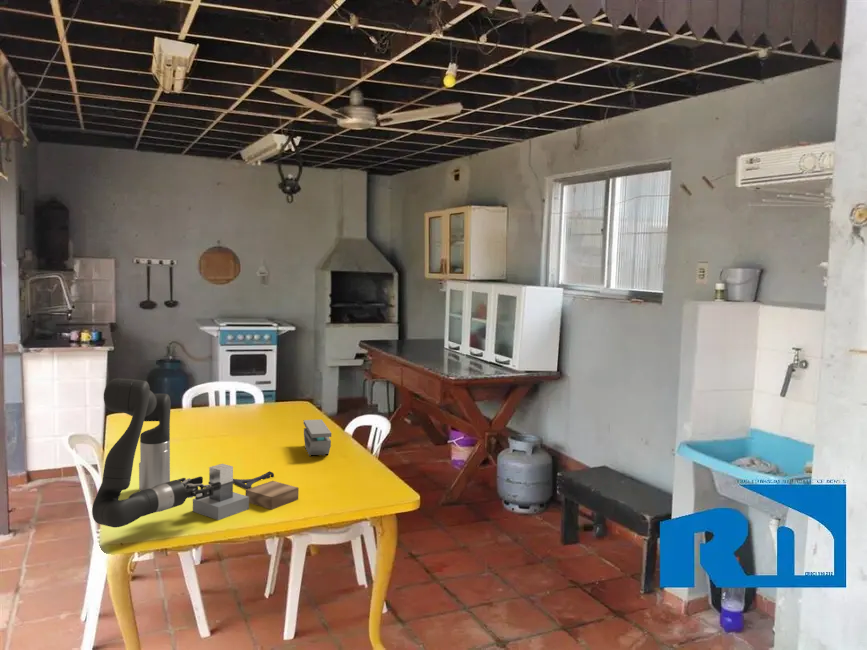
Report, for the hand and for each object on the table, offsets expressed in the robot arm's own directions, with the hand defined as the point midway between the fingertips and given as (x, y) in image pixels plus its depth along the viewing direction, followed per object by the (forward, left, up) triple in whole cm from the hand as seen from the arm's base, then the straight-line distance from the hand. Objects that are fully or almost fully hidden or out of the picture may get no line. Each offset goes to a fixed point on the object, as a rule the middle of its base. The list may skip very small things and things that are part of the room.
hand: (210, 482), depth 211 cm
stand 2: (+6, +20, -10) cm, 23 cm away
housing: (0, +4, -6) cm, 7 cm away
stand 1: (0, +4, -10) cm, 11 cm away
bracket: (-14, +31, -11) cm, 36 cm away
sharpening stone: (-23, +73, -10) cm, 77 cm away
